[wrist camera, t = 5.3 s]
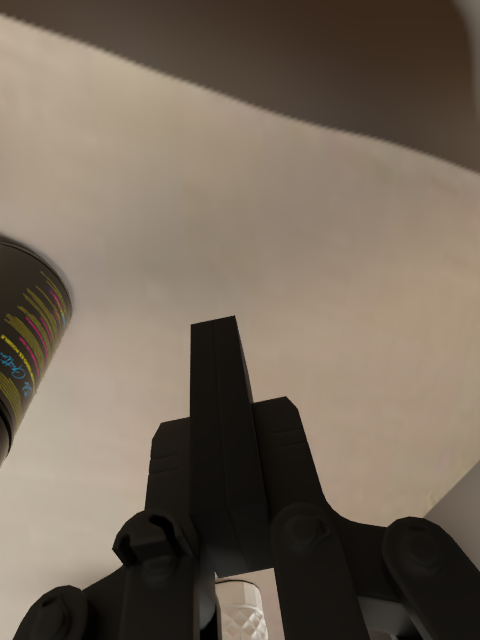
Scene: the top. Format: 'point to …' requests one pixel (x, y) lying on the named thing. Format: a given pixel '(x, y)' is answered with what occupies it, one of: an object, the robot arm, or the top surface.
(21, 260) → the supplement container
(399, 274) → the top surface
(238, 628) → the white cup
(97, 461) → the top surface
